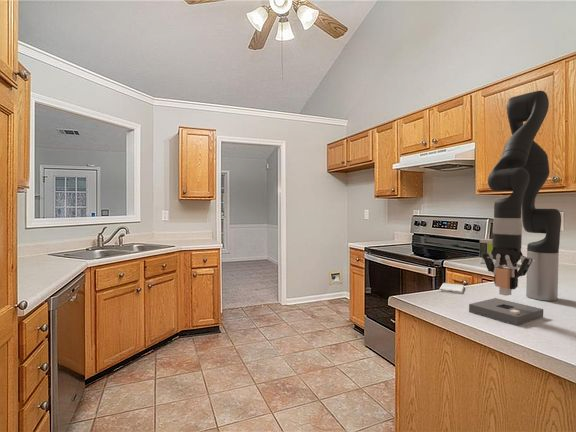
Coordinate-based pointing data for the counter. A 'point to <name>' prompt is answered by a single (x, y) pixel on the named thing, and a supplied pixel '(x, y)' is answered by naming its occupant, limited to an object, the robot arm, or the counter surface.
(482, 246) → the tea box
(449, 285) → the hard drive
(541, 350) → the counter surface
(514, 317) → the socket board
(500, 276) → the plug
